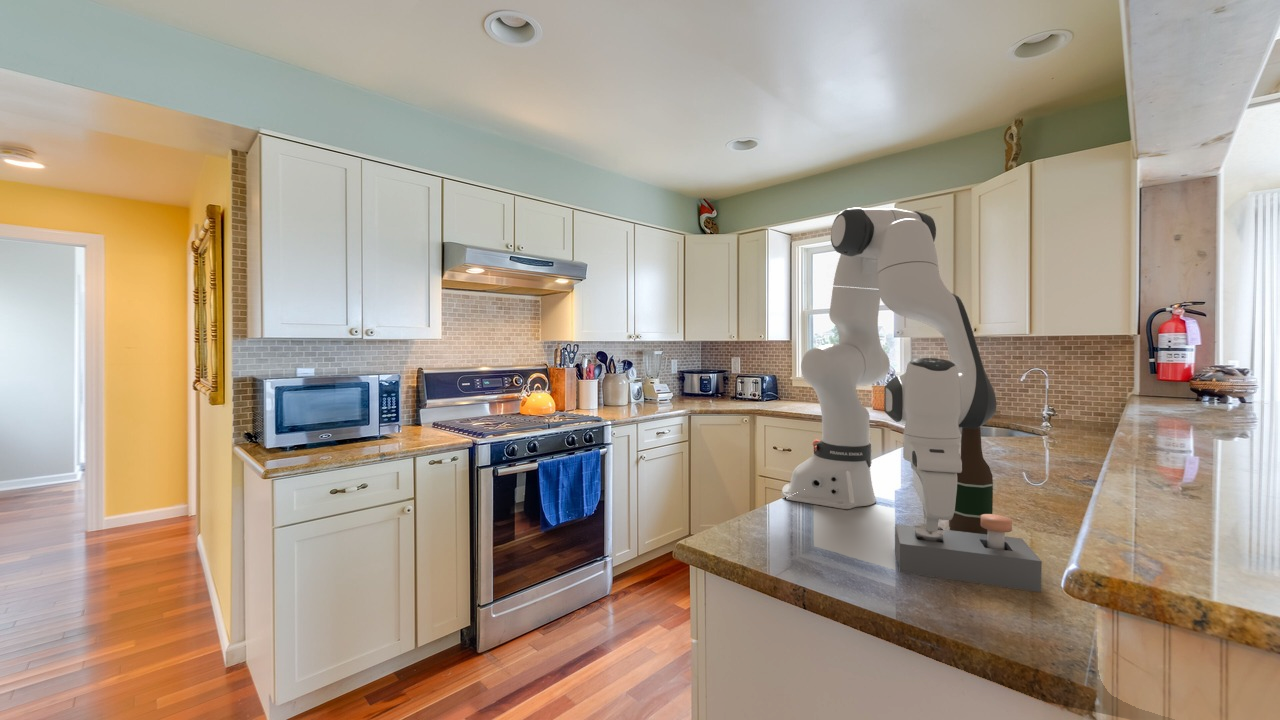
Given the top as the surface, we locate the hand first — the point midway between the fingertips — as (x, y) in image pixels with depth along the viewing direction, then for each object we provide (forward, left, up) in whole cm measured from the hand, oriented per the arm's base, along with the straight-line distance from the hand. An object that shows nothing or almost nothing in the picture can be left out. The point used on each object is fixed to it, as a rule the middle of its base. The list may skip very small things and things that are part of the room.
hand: (930, 528), depth 91 cm
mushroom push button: (+10, 0, -3) cm, 10 cm away
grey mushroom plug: (0, 0, -6) cm, 6 cm away
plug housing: (+5, 0, -7) cm, 8 cm away
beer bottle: (+10, +20, -7) cm, 23 cm away
